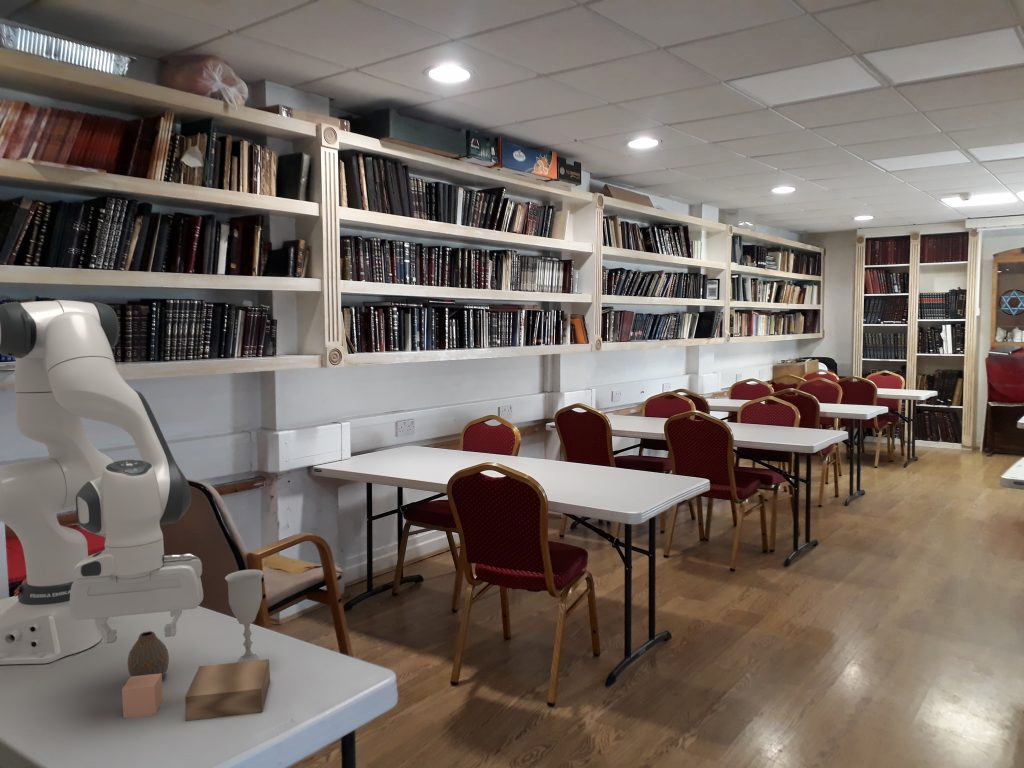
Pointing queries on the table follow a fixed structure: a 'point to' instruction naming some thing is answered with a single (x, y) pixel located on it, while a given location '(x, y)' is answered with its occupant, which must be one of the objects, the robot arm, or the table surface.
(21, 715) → the table surface
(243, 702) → the board
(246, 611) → the chalice
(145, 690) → the block
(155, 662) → the vase
